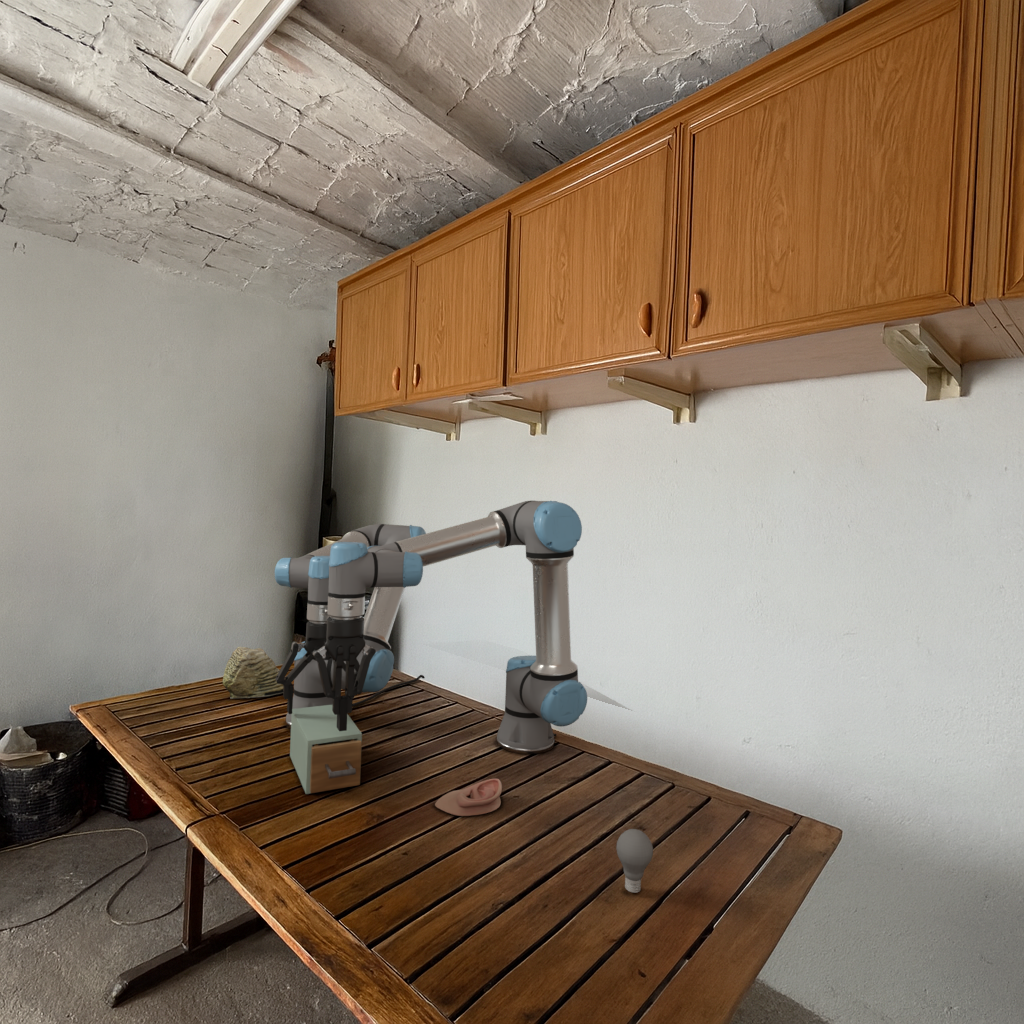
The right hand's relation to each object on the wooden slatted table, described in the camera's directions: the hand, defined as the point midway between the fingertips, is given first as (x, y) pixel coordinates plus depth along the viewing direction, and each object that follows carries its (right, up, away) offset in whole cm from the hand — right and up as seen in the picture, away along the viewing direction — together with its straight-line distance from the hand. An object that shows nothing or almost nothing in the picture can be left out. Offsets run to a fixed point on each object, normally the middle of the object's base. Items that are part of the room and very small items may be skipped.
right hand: (341, 728), depth 132 cm
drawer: (-5, -14, +10) cm, 18 cm away
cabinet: (-8, -15, +14) cm, 22 cm away
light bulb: (+56, -18, -27) cm, 64 cm away
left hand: (-11, -2, +19) cm, 22 cm away
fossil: (-45, -12, +66) cm, 80 cm away
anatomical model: (+27, -16, +1) cm, 31 cm away
